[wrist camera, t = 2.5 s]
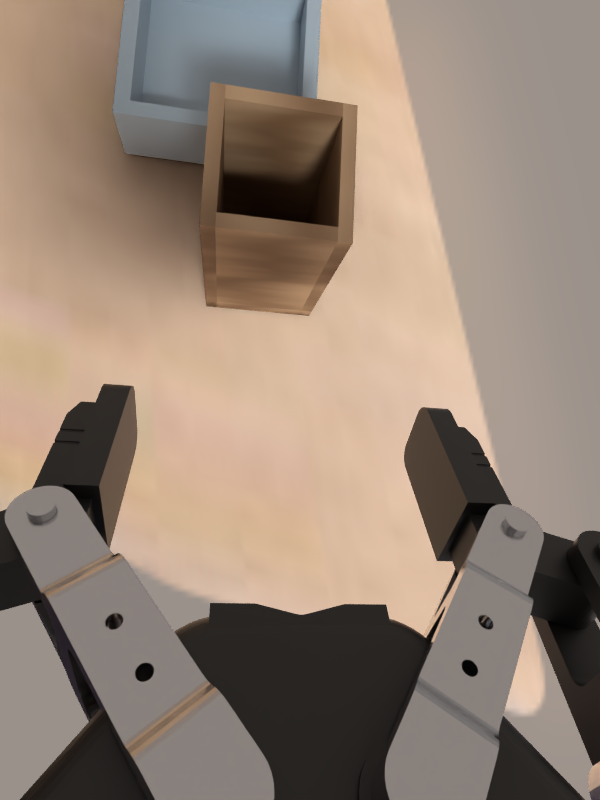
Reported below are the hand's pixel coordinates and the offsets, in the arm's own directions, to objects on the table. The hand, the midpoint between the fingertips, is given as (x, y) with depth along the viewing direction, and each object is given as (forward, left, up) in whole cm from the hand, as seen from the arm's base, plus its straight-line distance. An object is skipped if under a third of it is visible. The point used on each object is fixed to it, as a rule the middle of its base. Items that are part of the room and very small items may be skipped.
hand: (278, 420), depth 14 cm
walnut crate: (0, +11, -14) cm, 18 cm away
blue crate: (-3, +22, -14) cm, 26 cm away
